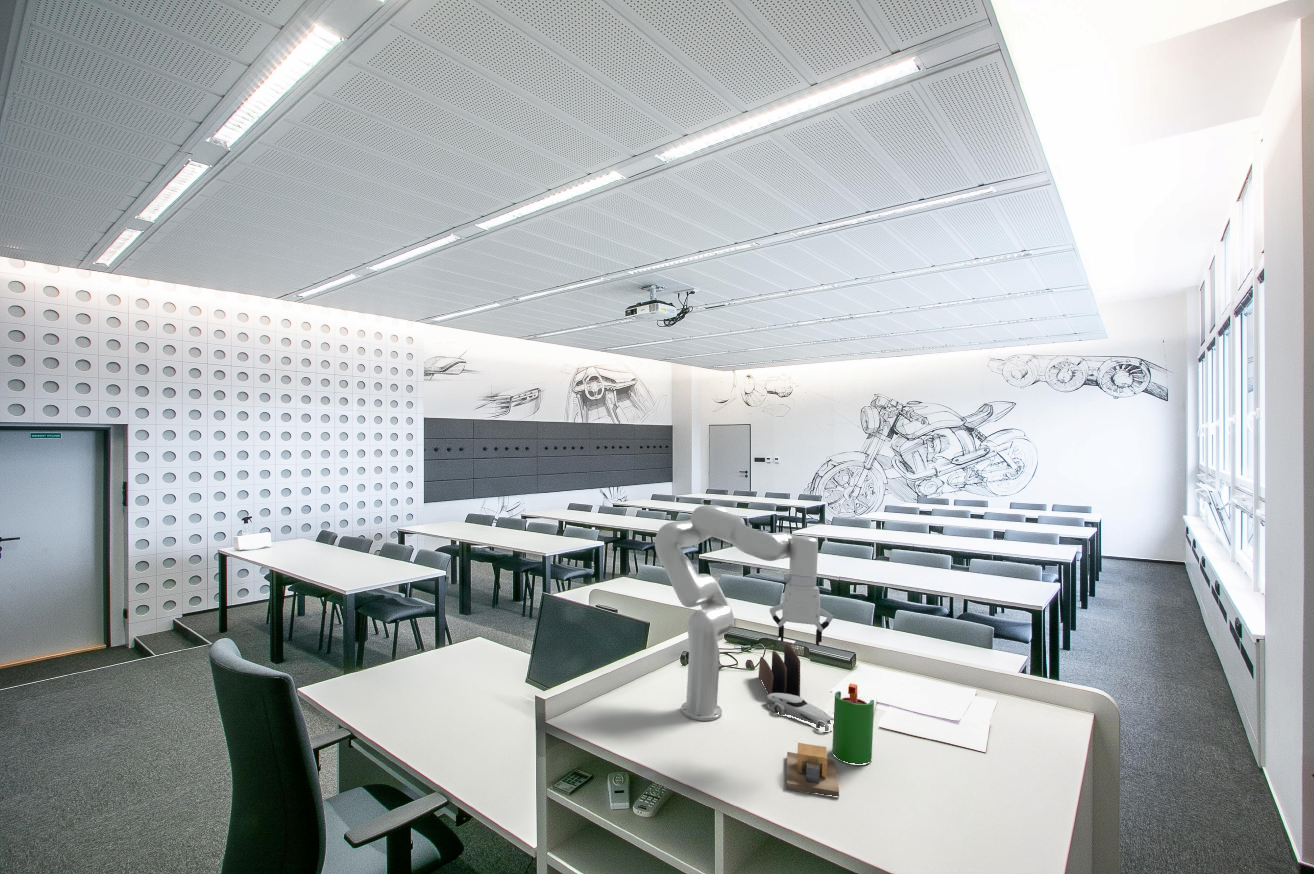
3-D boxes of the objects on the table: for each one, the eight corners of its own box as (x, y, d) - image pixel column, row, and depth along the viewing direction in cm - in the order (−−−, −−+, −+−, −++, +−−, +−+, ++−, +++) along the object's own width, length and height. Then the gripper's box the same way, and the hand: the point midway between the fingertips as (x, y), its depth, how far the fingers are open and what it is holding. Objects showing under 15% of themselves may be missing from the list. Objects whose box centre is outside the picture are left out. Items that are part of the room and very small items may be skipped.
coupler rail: (804, 758, 156) (805, 744, 156) (816, 759, 155) (817, 746, 155) (806, 781, 144) (806, 767, 144) (818, 784, 143) (819, 769, 143)
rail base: (787, 757, 159) (787, 751, 159) (833, 764, 156) (834, 759, 156) (786, 789, 143) (786, 782, 143) (838, 798, 140) (839, 791, 140)
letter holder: (785, 678, 217) (787, 639, 218) (800, 701, 198) (802, 658, 198) (758, 677, 217) (760, 638, 217) (770, 699, 197) (772, 656, 198)
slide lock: (797, 760, 153) (797, 742, 153) (825, 764, 152) (826, 746, 152) (797, 771, 147) (798, 753, 148) (826, 776, 146) (827, 758, 146)
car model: (827, 736, 173) (828, 719, 173) (758, 708, 190) (759, 692, 191) (846, 726, 181) (847, 709, 181) (778, 699, 198) (779, 684, 198)
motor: (871, 754, 163) (874, 680, 164) (871, 769, 155) (875, 691, 155) (832, 746, 167) (836, 673, 167) (831, 760, 158) (834, 684, 159)
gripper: (770, 580, 166) (767, 642, 165) (835, 586, 162) (832, 650, 161) (771, 575, 173) (768, 634, 172) (833, 581, 169) (830, 642, 169)
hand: (799, 642), depth 167 cm, fingers open, 9 cm apart
